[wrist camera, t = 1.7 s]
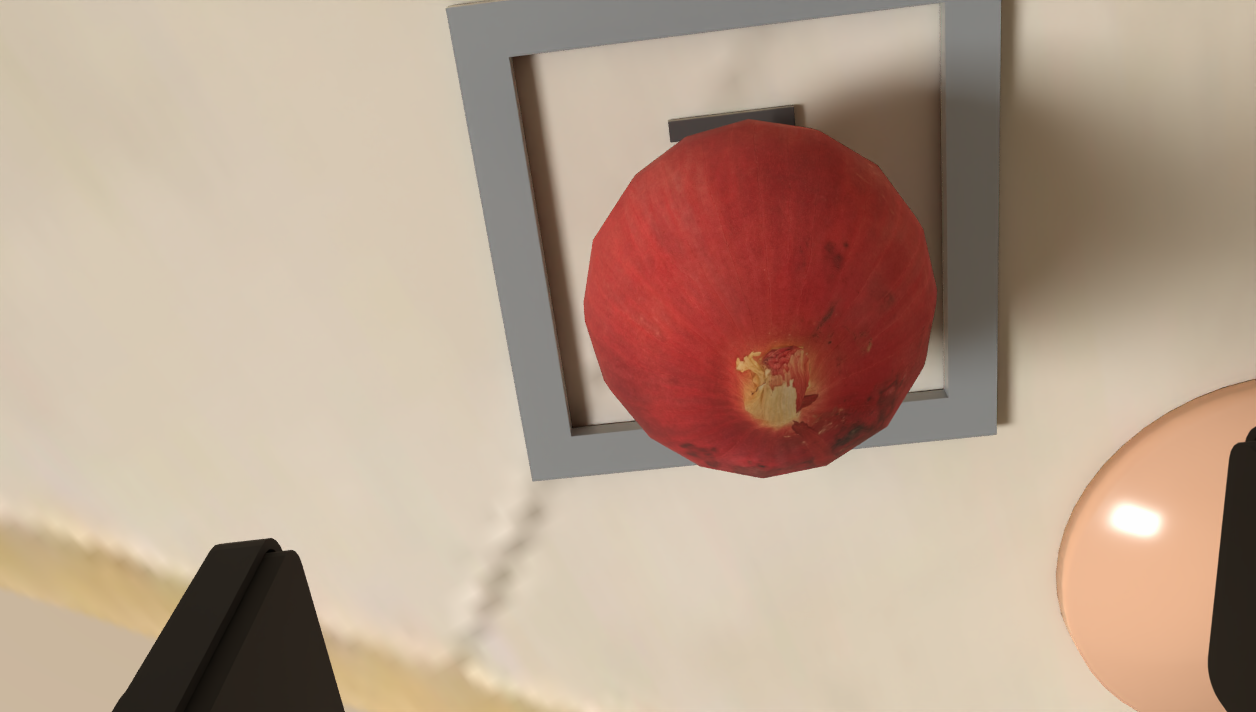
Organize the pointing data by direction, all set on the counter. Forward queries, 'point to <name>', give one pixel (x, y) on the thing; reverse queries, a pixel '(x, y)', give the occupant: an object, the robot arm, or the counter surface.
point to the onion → (760, 299)
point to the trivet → (1154, 555)
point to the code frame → (688, 4)
